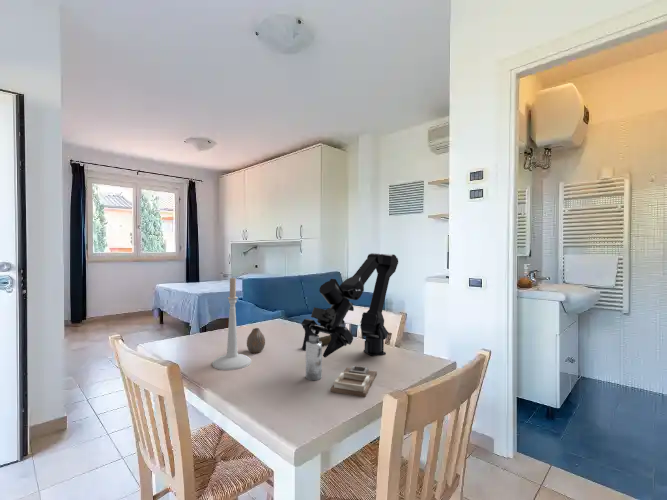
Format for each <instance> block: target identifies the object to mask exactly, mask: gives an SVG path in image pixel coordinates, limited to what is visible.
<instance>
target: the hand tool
mask: <svg viewBox="0 0 667 500" xmlns="http://www.w3.org/2000/svg"><path fill="white" fill-rule="evenodd" d="M330 340H331V335H330V334H328V335H324V336H319V341H321V342H322V346H325V345H328V344H329V342H330Z"/></svg>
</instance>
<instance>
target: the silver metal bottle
mask: <svg viewBox="0 0 667 500" xmlns="http://www.w3.org/2000/svg"><path fill="white" fill-rule="evenodd" d="M319 338H320V335H319V334H318V335H310V336H309V341H307V342H306V350H305V379H306V380H308V381H319V380H321V379H322V377H323V374H322V372H323V369H322V367H323V365H322V364H323V345H322V342H321V341H319Z"/></svg>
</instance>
